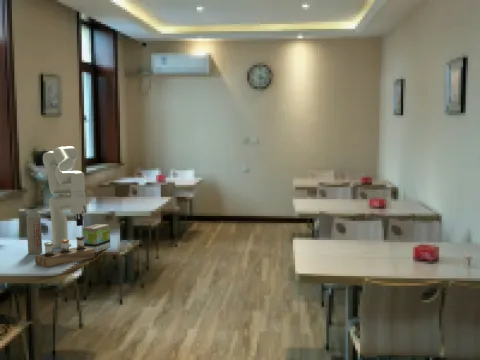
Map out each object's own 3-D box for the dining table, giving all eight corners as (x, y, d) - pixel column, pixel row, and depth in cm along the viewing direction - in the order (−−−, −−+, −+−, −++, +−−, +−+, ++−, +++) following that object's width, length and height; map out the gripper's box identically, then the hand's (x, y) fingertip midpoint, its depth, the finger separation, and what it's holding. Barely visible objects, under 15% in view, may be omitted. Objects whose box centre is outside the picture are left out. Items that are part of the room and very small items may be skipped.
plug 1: (43, 256, 309) (42, 243, 308) (50, 254, 313) (50, 241, 312) (47, 257, 306) (46, 244, 305) (55, 256, 310) (54, 242, 309)
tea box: (97, 252, 336) (96, 228, 335) (83, 251, 340) (81, 227, 338) (111, 247, 350) (110, 224, 349) (97, 246, 354) (96, 223, 352)
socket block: (35, 264, 310) (35, 255, 310) (82, 254, 333) (82, 246, 332) (47, 267, 302) (46, 258, 302) (94, 257, 325) (94, 248, 324)
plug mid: (59, 253, 317) (58, 240, 316) (66, 251, 320) (66, 238, 319) (64, 254, 314) (63, 241, 313) (71, 252, 317) (70, 239, 316)
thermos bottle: (44, 252, 338) (41, 206, 336) (30, 255, 333) (28, 208, 331) (39, 250, 345) (37, 205, 342) (26, 252, 339) (23, 206, 337)
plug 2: (75, 249, 324) (74, 237, 324) (81, 248, 328) (81, 236, 327) (79, 251, 321) (79, 238, 321) (86, 249, 325) (86, 237, 324)
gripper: (65, 193, 323) (66, 225, 325) (80, 195, 314) (81, 227, 315) (76, 192, 329) (78, 223, 331) (91, 193, 319) (93, 225, 321)
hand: (79, 225), depth 323 cm, fingers closed
